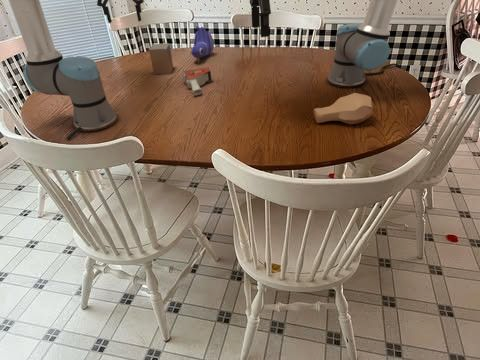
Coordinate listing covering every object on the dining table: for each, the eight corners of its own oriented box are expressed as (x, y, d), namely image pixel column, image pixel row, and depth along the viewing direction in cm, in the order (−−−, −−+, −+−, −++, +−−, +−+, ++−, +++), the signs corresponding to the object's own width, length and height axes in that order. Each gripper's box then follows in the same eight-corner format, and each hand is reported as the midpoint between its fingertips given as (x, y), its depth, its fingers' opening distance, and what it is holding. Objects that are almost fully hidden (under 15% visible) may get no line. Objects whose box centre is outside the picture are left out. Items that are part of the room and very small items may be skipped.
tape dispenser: (197, 100, 148) (224, 81, 161) (196, 88, 145) (223, 70, 157) (165, 91, 156) (193, 74, 168) (163, 80, 152) (192, 63, 165)
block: (173, 67, 180) (169, 43, 173) (170, 73, 173) (166, 48, 166) (157, 68, 180) (152, 44, 173) (153, 74, 173) (148, 49, 166)
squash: (377, 125, 120) (379, 103, 114) (317, 135, 122) (317, 114, 116) (367, 107, 128) (369, 85, 121) (311, 116, 130) (311, 95, 123)
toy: (200, 58, 202) (185, 64, 180) (197, 26, 195) (181, 28, 173) (217, 58, 200) (204, 63, 177) (214, 25, 193) (200, 26, 171)
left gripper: (143, -36, 151) (153, 17, 164) (85, -32, 152) (100, 21, 164) (140, -34, 145) (150, 21, 158) (79, -30, 146) (95, 25, 158)
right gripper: (238, -43, 119) (242, 24, 131) (254, -37, 99) (257, 42, 111) (260, -45, 120) (262, 22, 132) (280, -39, 100) (280, 39, 112)
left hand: (125, 21), depth 161 cm, fingers open, 13 cm apart
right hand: (260, 31), depth 122 cm, fingers open, 13 cm apart
